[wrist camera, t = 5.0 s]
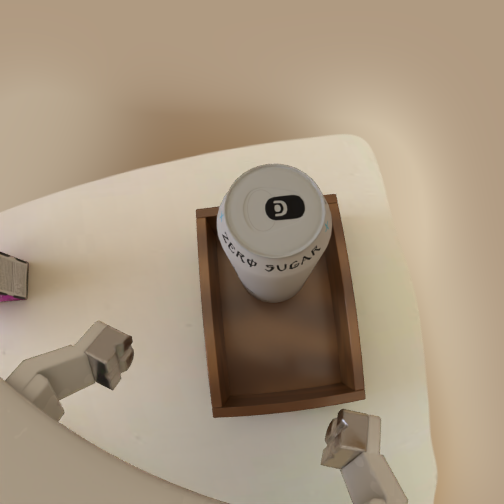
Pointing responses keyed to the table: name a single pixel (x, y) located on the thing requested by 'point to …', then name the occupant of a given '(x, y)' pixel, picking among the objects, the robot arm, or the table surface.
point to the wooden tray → (279, 332)
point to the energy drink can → (274, 229)
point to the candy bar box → (12, 278)
